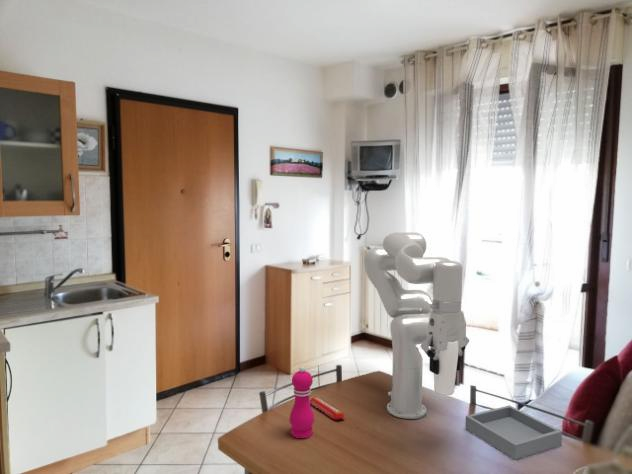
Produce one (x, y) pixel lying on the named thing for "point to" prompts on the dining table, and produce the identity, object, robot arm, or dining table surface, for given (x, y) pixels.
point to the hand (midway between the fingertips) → (444, 370)
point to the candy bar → (327, 408)
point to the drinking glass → (447, 370)
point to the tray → (513, 431)
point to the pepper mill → (302, 405)
